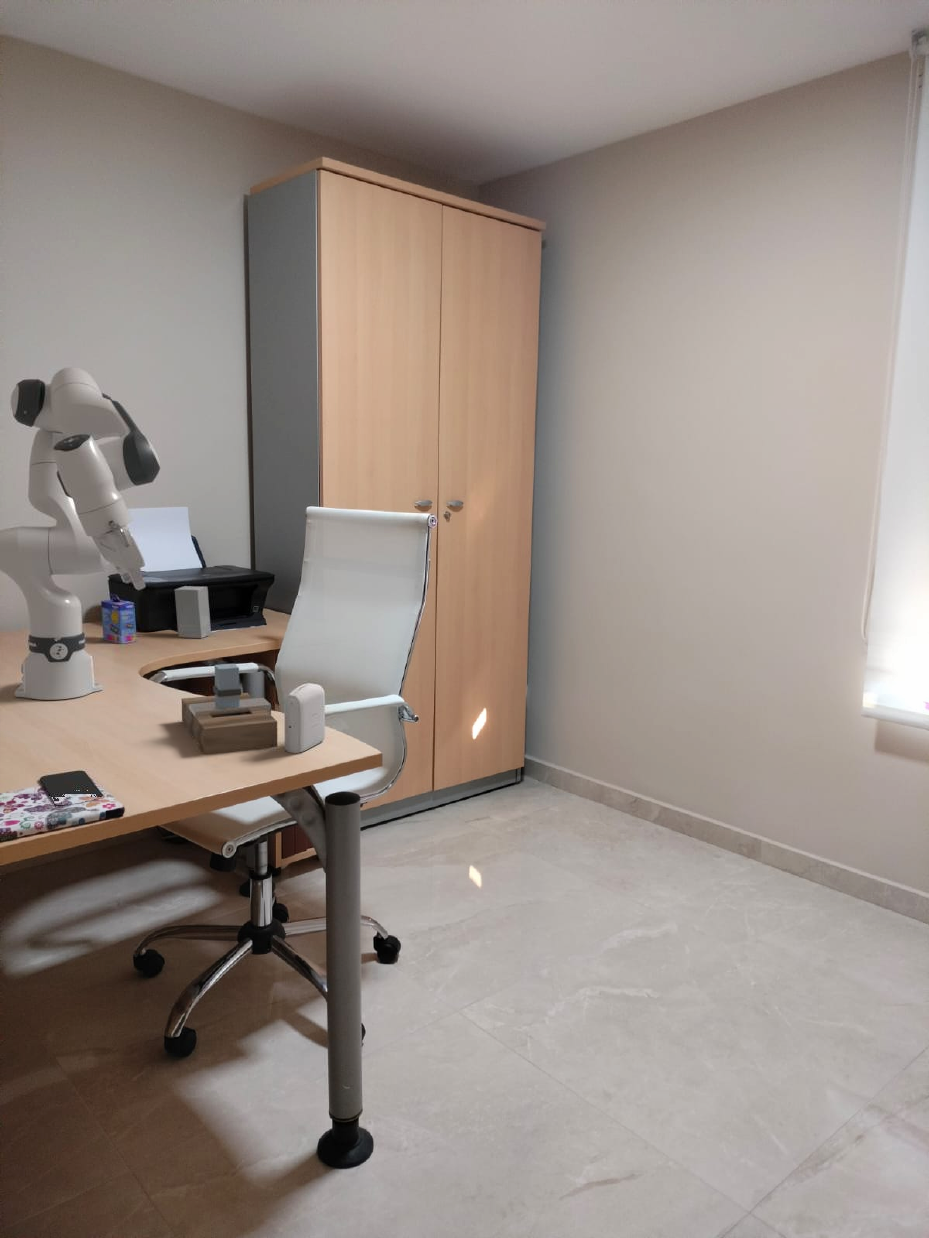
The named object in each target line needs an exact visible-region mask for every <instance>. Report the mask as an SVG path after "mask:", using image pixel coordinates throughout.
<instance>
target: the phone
mask: <svg viewBox="0 0 929 1238" xmlns="http://www.w3.org/2000/svg"><path fill="white" fill-rule="evenodd" d="M39 782H40V783H41V786H42V787H43V788H45V789H46V790H47V791H46V790H45V789H44V790H45V791H46V793H47V792H48V793H49V794H50V796H51V797H53V799H54V801H59V799H58V798H57V799H56V798H55V797H65V796H64V795H65V794H96V796H97V797H102V796H103V797H104V794H103V793H102V791H101V790H100V789H99V787H98V786H97V785H96V784H95V782H94V781H93V779H91V777H90V776H89V775H88V773H87V772H86V771H84V770H80V769H79V770H73V771H67V772H66V771H64V772H59V773H53V774H47V775H42V776H40V778H39ZM76 790H77V791H76ZM78 790H80V791H78ZM87 790H88V791H87ZM48 793H47V794H48ZM49 794H48V795H49ZM63 794H64V795H63ZM62 795H63V796H62ZM50 796H49V797H50ZM94 796H95V795H94ZM96 796H95V797H96ZM51 797H50V798H51ZM91 797H92V795H91Z"/></svg>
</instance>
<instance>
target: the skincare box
mask: <svg viewBox="0 0 929 1238" xmlns="http://www.w3.org/2000/svg"><path fill="white" fill-rule="evenodd" d="M174 597H175V607H176V608H175V610H176V621H177V624H176V625H177V635H178V636H177V637H178V638H183V639H184V638H186V639H188V638H189V639H204V638H206V637H208V636H209V637H210V636H211V633H212V630H211V629H212V628H211V617H210V615H211V614H210V604H209V589H208V586H193V585H192V586H191V585H189V586H187V585H184V586H181V587H178V588H176V589H174Z"/></svg>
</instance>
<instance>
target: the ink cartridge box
mask: <svg viewBox="0 0 929 1238" xmlns="http://www.w3.org/2000/svg"><path fill="white" fill-rule="evenodd" d="M109 596H110V598H111V599H104V600H101V601H100V604H101V622H102V623H101V624H102V637H103V640H104V641H107V642H111V643H116V644H120V645H123V644H129V643H135V642H137V628H136V627H137V626H136V613H135V611H136V610H135V602H132V601H128V600H123V599H120V598H119V596H118V595H117V594H114V593H113V594H112V593H109ZM114 597H115V598H114Z"/></svg>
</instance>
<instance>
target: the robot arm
mask: <svg viewBox="0 0 929 1238" xmlns="http://www.w3.org/2000/svg"><path fill="white" fill-rule="evenodd" d="M10 409H11V410H12V411H11V412H12V415H13V418H14V419H15V420H16V422H18V423H19V424H22V425H24V426H27V427H29V428H32V427H35V428H39V429H38V430H37V431H36V432H35V435H34V438H33V442H32V446H31V449H30V450H31V451H30V457H29V466H28V467H29V468H28V469H29V471H28V491H27V493H28V494H27V495H28V500H29V503H30V504H31V506H32V507H33V508H34V509H35V510H37V511H38V512H40V513H41V514H43V515H46V516H48V517H51V518H52V519H54V520H55V521H56V523H55V525H53V526H52V525H51V526H23V525H22V526H16V527H9V528H4V529H0V572H2V573H4V574H5V575H7V576H8V577H9V578H10V579H12V580H13V582H15V583H16V585H17V586H18V587H19V589H20V591H21V592H22V594H23V596H24V598H25V599H24V600H25V601H26V605H27V610H28V611H27V612H28V618H29V629H30V630H29V631H30V634H29V635H28V640H27V641H28V642H27V644H28V650H29V653H28V655H27V656H26V657H25V658H24V660H22V663H21V667H20V669H21V670H20V671H21V674H22V677H21V680H22V683H21V684H20V685H19V687H17V688H16V690H15V691H14V697H16V698H27V699H34V700H47V701H49V700H50V701H51V700H52V701H53V700H67V699H73V698H79V697H83V696H87V695H89V694H91V693H94V692H99V691H102V690H103V688H104V687H103V685H102V684H101V683H99V682H98V681H96V680H95V676H94V664H93V663H94V662H93V661H94V660H93V657H92V655H90V653H88V652H87V651H86V650H85V648H86V637H85V632H83V618H82V617H83V615H82V603H81V601H80V599H79V597H77V595H75V594H74V593H72V592H71V591H68V590H66V589H64V588H62V587H59V586H58V585H57V584H56V583H55V582H54V580H53V578H52V576H57V575H63V576H64V575H73V576H74V575H77V576H78V575H79V576H80V575H83V576H84V575H88V574H89V575H90V574H95V573H100V572H103V571H105V570H106V569H107V568H108V567H109V566H110V564H112V565H114V566H113V567H114V568H115V569H116V571H117V573H118V574H119V576H120V577H121V580H122V582H123V583H125V584H129V583H132V584H133V587H134V588H135V589H136V590H137V591H141V590H143V589H145V588H146V583H145V581H144V577H143V574H142V572H143V571H142V569H141V568H143V567H145V566H146V562H145V558H144V556H143V554H142V552H141V550H140V548H139V545H138V544H137V541H136V539H135V537H134V535H133V533H132V531H130V528H129V526H128V524H129V523H131V522H132V521H133V519H132V516H131V514H130V512H129V509H128V507H127V504H126V502H125V500H124V498H123V496H122V494H121V491H124V490H127V489H130V488H134V487H138V486H143V485H146V484H151V483H153V482H154V481H155V479H156V478H157V476H158V475H159V472H160V470H161V464H160V463H161V462H160V458H159V455H158V453H157V450H156V449H155V446H153V444H152V443H151V442H150V441H149V439H147V438H146V436H145V435H144V434H143V433H142V432H141V430H140V429H139V427H138V426H137V424H136V423H135V421H134V420H133V418H132V417H131V415H130V414H129V413H128V412H127V410H126V409H125V408H124V407H123V405H122V404H121V403H120V402H118V401H117V400H115V399H114V400H113V399H112V398H111V396H109V395H107V394H106V393H104V392H101V389H100V387H99V385H98V383H97V382H96V381H95V379H94V378H93V376H92V375H91V374H90V373H89V372H88V371H86V370H85V369H82V368H79V367H73V366H71V367H70V366H69V367H65V368H62V369H60V370H58V371H57V372H56V373H55V374H54V375H53V376H52V378H51V381H45V380H42V379H41V380H40V379H38V378H37V379H35V378H34V379H33V378H31V379H30V378H29V379H23V380H21V381H19V382H17V383H16V386H15V387H14V388H13V390H12V392H11V396H10ZM113 437H114V438H117V439H113V440H111V441H107V442H104V443H100V444H98V443H97V442H96V441H97V440H101V439H105V438H113Z"/></svg>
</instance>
